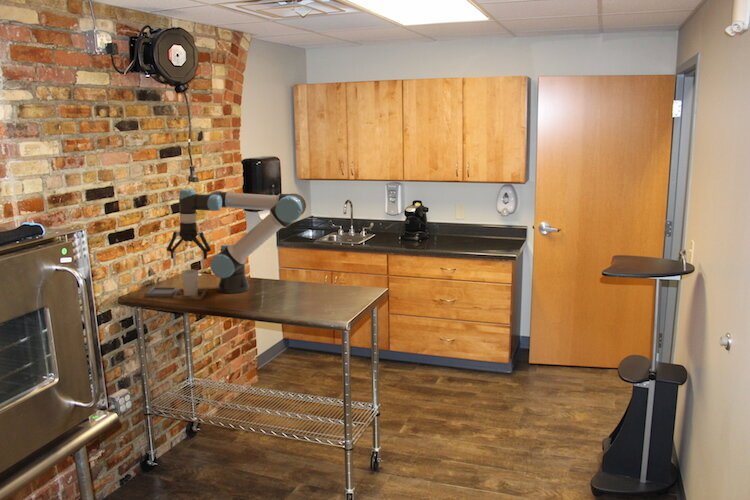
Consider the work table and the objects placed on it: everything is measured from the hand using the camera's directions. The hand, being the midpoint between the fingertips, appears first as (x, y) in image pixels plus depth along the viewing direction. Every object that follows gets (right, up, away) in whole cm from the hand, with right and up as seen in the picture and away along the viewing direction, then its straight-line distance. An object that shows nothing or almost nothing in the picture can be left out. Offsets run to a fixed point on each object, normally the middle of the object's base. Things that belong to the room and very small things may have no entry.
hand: (189, 265), depth 295 cm
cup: (0, -15, +3) cm, 15 cm away
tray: (-14, -14, +4) cm, 20 cm away
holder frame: (0, -15, +3) cm, 15 cm away
